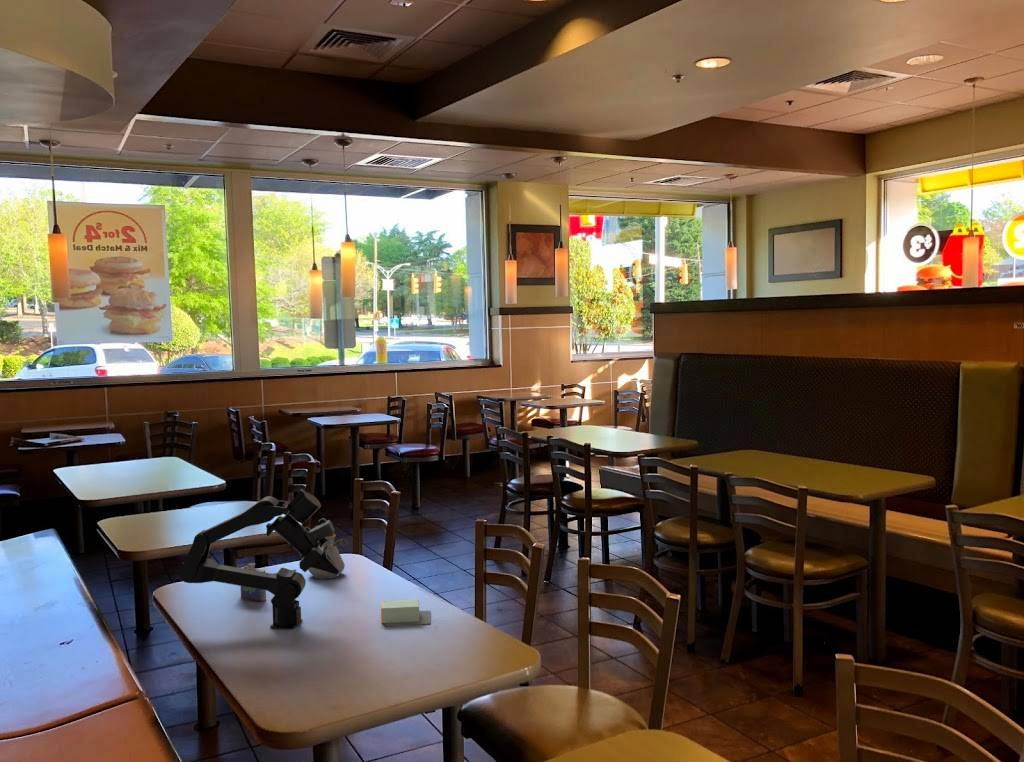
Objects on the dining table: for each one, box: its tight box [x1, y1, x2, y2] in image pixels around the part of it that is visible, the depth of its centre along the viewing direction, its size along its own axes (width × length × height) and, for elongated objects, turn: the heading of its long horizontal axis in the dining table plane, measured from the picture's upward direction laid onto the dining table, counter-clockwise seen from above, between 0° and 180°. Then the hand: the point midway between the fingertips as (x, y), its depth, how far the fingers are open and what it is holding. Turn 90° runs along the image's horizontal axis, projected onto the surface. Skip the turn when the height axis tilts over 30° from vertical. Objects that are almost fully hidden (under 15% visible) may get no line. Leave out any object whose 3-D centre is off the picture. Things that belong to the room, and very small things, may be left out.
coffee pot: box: [307, 533, 348, 580], centre depth 268 cm, size 21×12×15 cm, turn 34°
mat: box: [384, 610, 431, 627], centre depth 232 cm, size 12×10×1 cm
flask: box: [240, 562, 267, 603], centre depth 250 cm, size 9×3×11 cm, turn 61°
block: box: [380, 598, 420, 624], centre depth 232 cm, size 4×6×10 cm
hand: (338, 572), depth 229 cm, fingers closed
